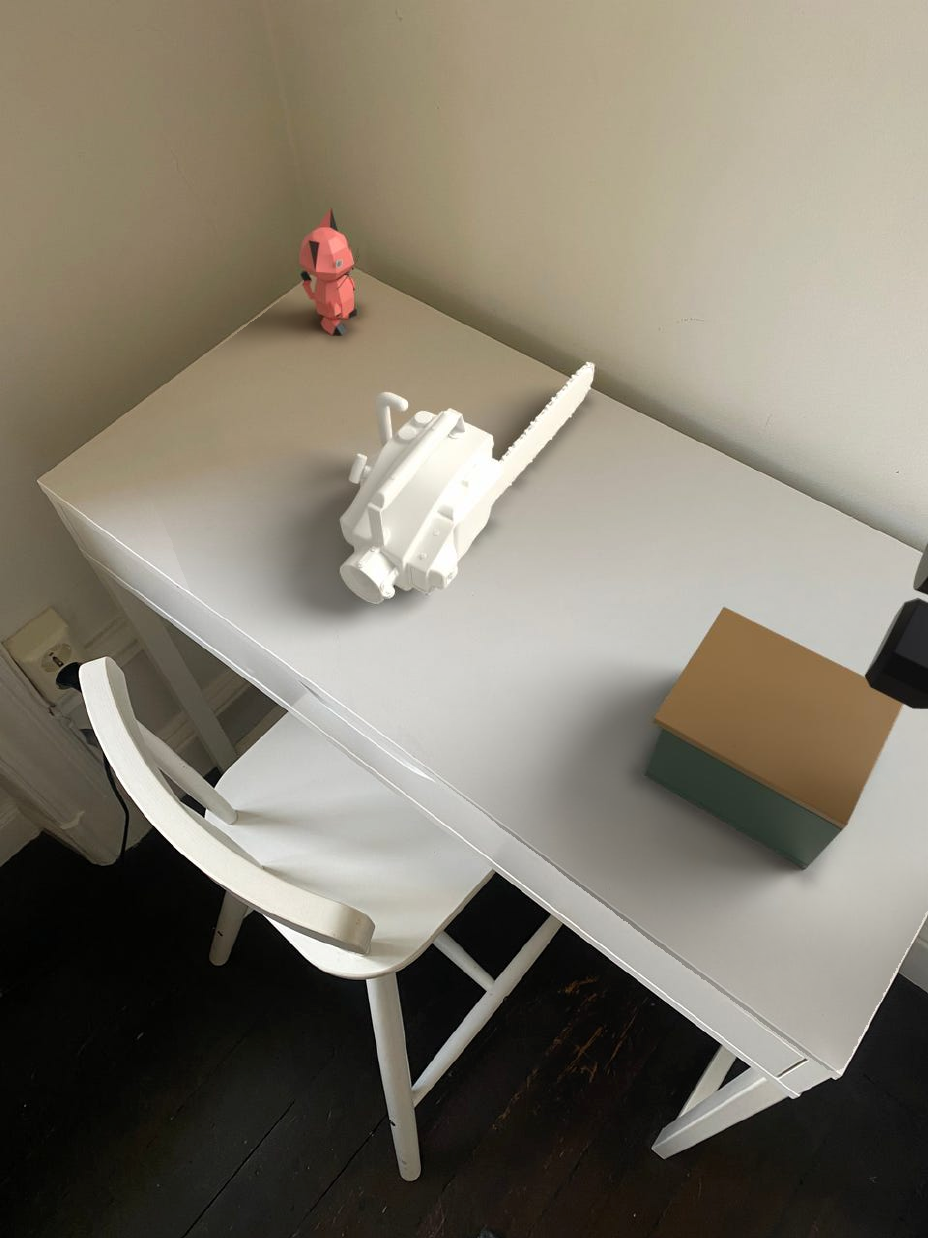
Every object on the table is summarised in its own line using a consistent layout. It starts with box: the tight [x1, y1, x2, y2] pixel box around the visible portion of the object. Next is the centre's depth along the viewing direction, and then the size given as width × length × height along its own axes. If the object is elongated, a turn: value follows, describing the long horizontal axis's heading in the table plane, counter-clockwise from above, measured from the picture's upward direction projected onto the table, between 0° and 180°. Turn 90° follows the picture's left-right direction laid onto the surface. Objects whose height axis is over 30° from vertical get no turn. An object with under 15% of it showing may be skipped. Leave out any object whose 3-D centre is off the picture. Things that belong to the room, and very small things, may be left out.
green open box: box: [644, 728, 844, 870], centre depth 70 cm, size 14×12×8 cm
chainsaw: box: [339, 361, 596, 605], centre depth 85 cm, size 15×35×12 cm, turn 146°
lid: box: [651, 606, 905, 830], centre depth 66 cm, size 14×12×1 cm
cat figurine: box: [298, 207, 360, 336], centre depth 99 cm, size 7×7×12 cm
